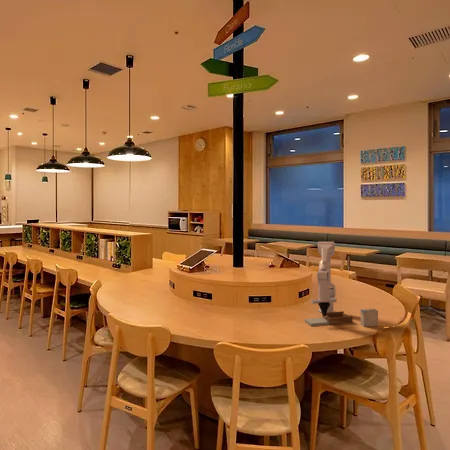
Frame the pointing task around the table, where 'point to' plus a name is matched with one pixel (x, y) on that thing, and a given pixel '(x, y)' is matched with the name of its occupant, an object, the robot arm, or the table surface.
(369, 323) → the medicine box
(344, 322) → the walnut box
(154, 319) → the table surface
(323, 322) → the cover plate
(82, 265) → the table surface
